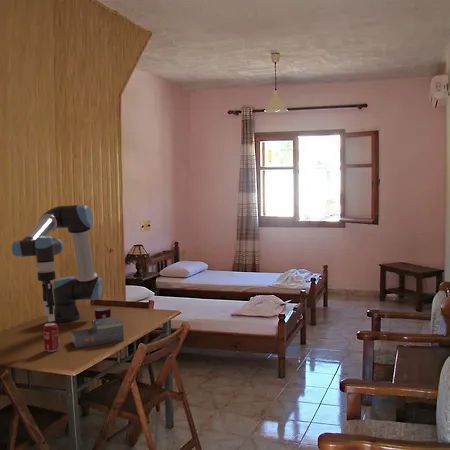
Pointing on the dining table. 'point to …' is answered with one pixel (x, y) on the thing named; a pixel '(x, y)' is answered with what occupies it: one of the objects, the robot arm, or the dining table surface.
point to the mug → (102, 312)
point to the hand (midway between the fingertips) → (49, 318)
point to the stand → (99, 332)
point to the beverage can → (51, 337)
